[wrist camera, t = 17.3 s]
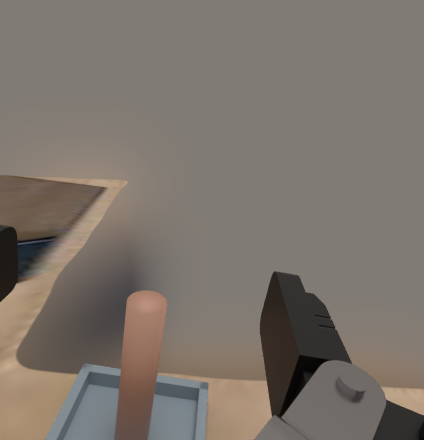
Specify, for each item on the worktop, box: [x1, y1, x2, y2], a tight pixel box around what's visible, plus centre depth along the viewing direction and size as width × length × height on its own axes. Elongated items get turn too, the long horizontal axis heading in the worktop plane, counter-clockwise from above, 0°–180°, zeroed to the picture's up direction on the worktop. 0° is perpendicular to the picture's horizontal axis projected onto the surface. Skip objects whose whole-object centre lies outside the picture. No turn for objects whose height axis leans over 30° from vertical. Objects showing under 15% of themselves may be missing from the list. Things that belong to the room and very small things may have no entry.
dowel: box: [114, 291, 167, 440], centre depth 32 cm, size 3×3×17 cm
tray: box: [45, 364, 208, 440], centre depth 35 cm, size 15×13×3 cm
